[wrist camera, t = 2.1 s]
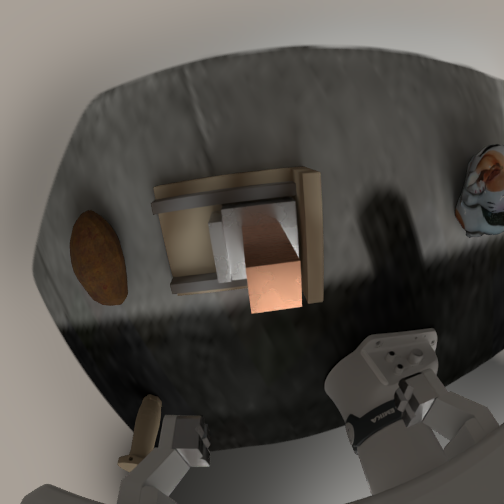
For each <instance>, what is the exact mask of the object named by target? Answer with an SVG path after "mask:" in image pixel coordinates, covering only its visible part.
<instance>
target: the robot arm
mask: <svg viewBox="0 0 504 504" xmlns="http://www.w3.org/2000/svg"><path fill="white" fill-rule="evenodd" d="M436 345H437V334H436V331H435V330H434V328H429V329H421V330H413V331H404V332H395V333H384V334H373V335H370V336H368V337H366V338H365V339H364V340H363V342H362V343H361V344H360V345H359V346H358V348H357V349H356V350H355V351H353V352H352V353H351V354H349V355H348V356H346V357H345V358H344V359H342V360H341V361H340V362H339V363H338V364H337V365H336V366H335V367H334V368H333V369H332V370H331V371H330V373H329V374H328V376H327V378H326V381H325V391H326V393H327V394H328V396H329V397H330V398H331V399H332V400H333V402H334V403H335V405H336V406H337V408H338V409H339V411H340V413H341V415H342V417H343V419H344V421H345V426H346V432H347V435H348V438H349V441H350V444H351V445H352V447H353V450H354V453H355V454H356V455H358V456H359V459H360V462H361V464H362V468H363V471H364V474H365V476H366V479H367V483H368V486H369V489H370V492H371V494H372V496H369V497H366V498H363V499H360V500H357V501H354V502H350V503H346V504H504V423H503V424H501V425H500V426H499V424H498V423H497V421H496V420H495V418H494V417H493V415H492V414H491V412H490V411H489V409H488V408H487V407H485V406H483V405H480V404H478V403H476V402H474V401H471V400H469V399H467V398H464V397H462V396H460V395H458V394H455V393H453V392H451V391H450V392H447V390H446V389H445V387H444V386H443V384H442V383H441V381H440V380H439V379H438V377H437V376H436V374H437V370H438V359H437V356H436V354H435V349H436ZM431 428H432V429H433V430H435V431H436V432H438V433H439V434H441V435H442V436H444V437H445V438H447V439H449V440H450V442H449V443H448V444H447V445H446V446H445V448H444V450H443V449H442V447H441V445H440V443H439V442H438V440H437V438H436V437H435V435H434V433H433V431H432V429H431ZM210 441H211V438H210V431H209V427H208V425H206V424H205V419H204V417H203V415H165V417H164V419H163V425H162V430H161V436H160V442H159V447H158V448H154V449H153V450H152V451H151V452H150V453H149V454H148V455H147V456H146V457H145V458H144V459H143V460H142V461H141V462H140V463H139V464H138V465H137V466H136V467H135V468H134V469H133V470H132V471H131V472H130V473H129V474H128V475H127V476H126V477H125V478H124V479H123V480H122V481H121V485H120V490H119V495H118V500H117V504H178V503H176V502H175V501H174V500H172V499H171V498H169V497H168V496H169V495H170V493H171V492H172V491H173V489H174V488H175V487H176V486H177V484H178V483H179V482H180V480H181V479H182V478H183V476H184V475H185V474H186V472H187V471H188V470H189V467H208V466H210V452H209V451H208V449H207V448H208V447H209V446H210ZM21 504H104V503H100V502H97V501H94V500H91V499H88V498H85V497H82V496H79V495H76V494H73V493H71V492H68V491H66V490H63V489H61V488H58V487H56V486H53V485H50V484H45V485H43V486H40V487H39V488H37V489H35V490H34V491H32V492H31V493H29V494H28V495H26V496H25V497H24V498H23V500H22V502H21Z"/></svg>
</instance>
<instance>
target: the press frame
mask: <svg viewBox="0 0 504 504" xmlns="http://www.w3.org/2000/svg"><path fill="white" fill-rule="evenodd" d="M154 194H155V199H156V200H154V201H153V202H152V203H151V207H152V212H153V215H154V214H159V219H160V224H161V229H162V233H163V238H164V242H165V247H166V251H167V255H168V259H169V263H170V267H171V271H172V275H173V279H172V281H171V283H170V287H171V291H172V294H178V296H180V295H190V294H199V293H208V292H217V291H226V290H234V289H242V288H248V283H247V279H239V280H232V277H231V282H225V283H219V282H218V277H217V272H216V266H215V261H214V255H213V250H212V244H211V238H210V233H209V227H208V222H209V219H210V216H211V213H212V212H214V211H221V208H222V204H226V203H233V202H241V201H249V200H257V199H266V198H275V197H284V196H291V197H292V198H293V199H294V200H295V201H296V215H297V231H298V249H299V259H300V261H301V288H302V291H303V293H304V295H305V297H306V300H307V302H308V304H310V303H316V302H322V301H323V273H324V265H323V215H322V193H321V176H320V172H318V171H315V170H312V169H309V168H306V167H290V168H279V169H269V170H259V171H251V172H242V173H234V174H227V175H220V176H213V177H206V178H199V179H193V180H187V181H181V182H176V183H170V184H165V185H159V186H156V187H154Z"/></svg>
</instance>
